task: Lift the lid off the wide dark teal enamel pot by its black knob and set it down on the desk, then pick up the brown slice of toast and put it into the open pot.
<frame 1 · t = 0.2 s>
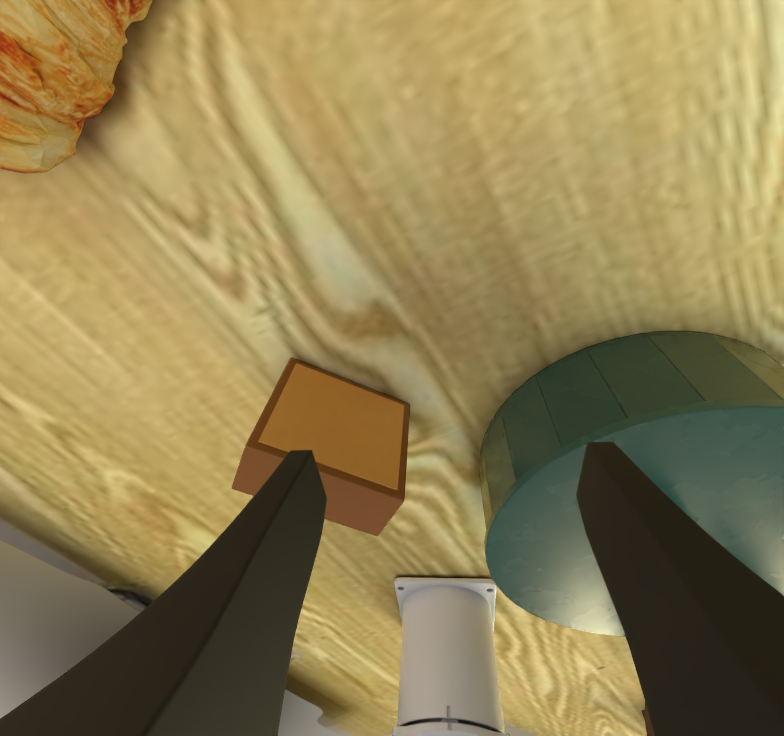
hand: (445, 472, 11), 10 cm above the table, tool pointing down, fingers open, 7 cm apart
pot: (626, 457, 24), on the table
lid: (671, 541, 19), point 5 cm above the table, touching pot
croissant: (1, 3, 14), on the table
toast: (342, 400, 23), on the table
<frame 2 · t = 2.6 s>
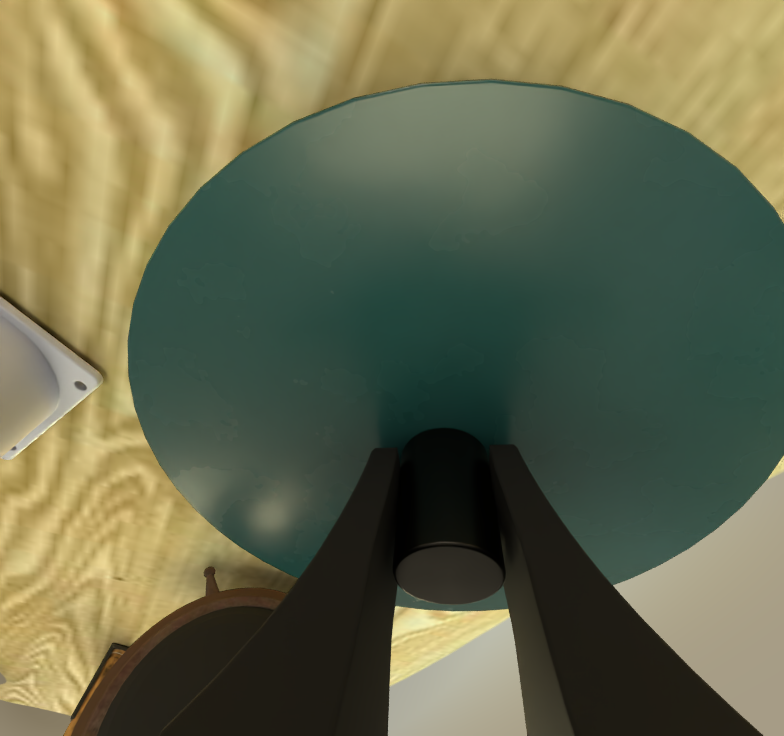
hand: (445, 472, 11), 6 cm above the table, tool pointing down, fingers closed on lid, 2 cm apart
alarm clock: (274, 586, 28), on the table
ammunition clip: (122, 664, 39), on the table
lid: (443, 445, 12), point 5 cm above the table, touching gripper, pot
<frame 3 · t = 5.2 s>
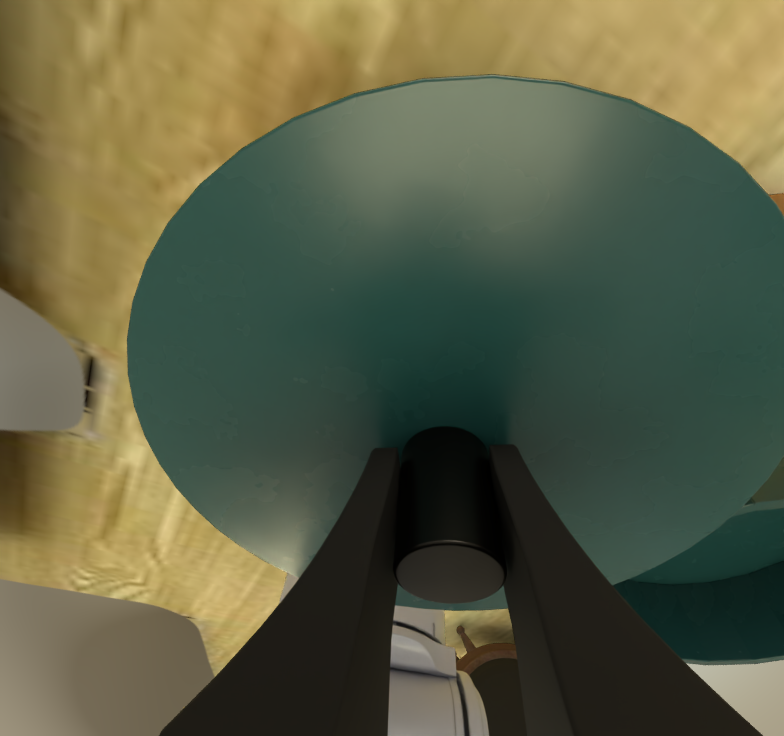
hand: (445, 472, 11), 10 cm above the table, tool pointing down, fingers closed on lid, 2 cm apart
pot: (699, 513, 27), on the table
alarm clock: (499, 638, 39), on the table
lid: (443, 444, 12), point 9 cm above the table, touching gripper
when the fingers open (2 cm above the table, at t = 7.9 s): lid stays where it is, point 1 cm above the table.
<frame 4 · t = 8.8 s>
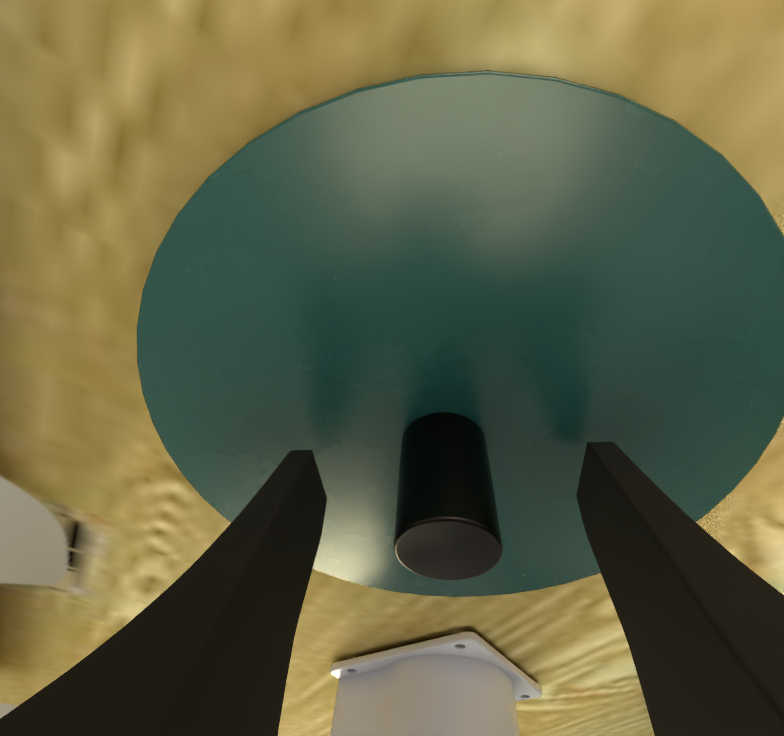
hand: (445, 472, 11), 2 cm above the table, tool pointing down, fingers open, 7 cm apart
lid: (442, 430, 12), point 1 cm above the table
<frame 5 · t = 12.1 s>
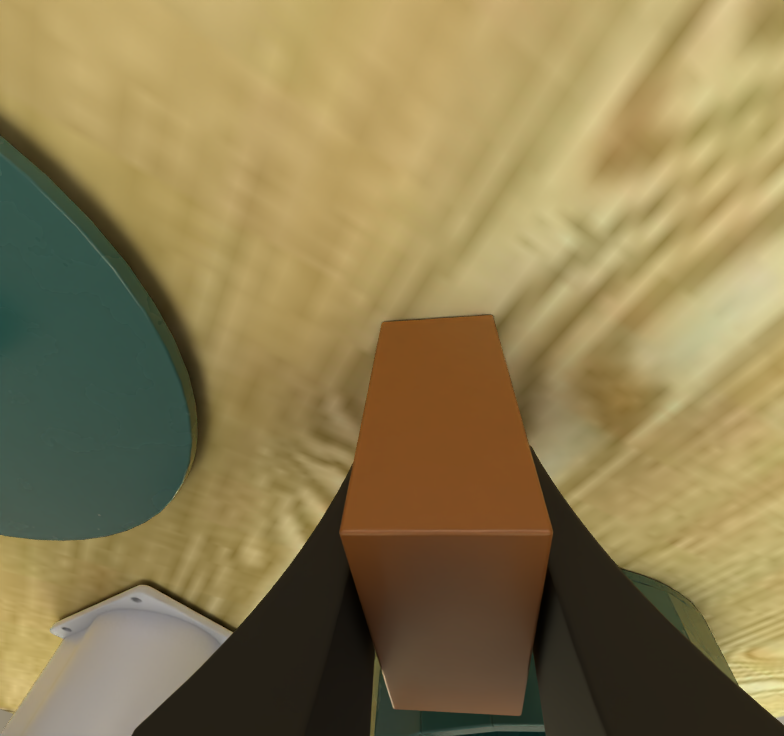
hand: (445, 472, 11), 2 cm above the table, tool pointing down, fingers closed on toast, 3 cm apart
pot: (526, 649, 22), on the table
toast: (442, 416, 13), on the table, touching gripper
when the fingers open (3 cm above the table, at t = 17.3 s): toast stays where it is, resting on pot.
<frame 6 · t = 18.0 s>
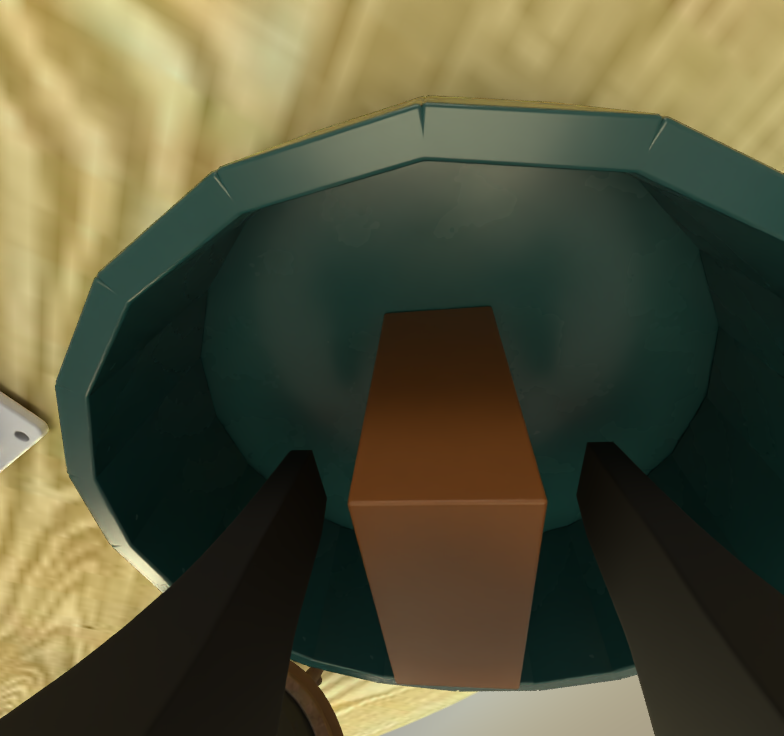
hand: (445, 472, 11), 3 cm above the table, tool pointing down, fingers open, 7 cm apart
pot: (442, 398, 14), on the table
alarm clock: (258, 637, 26), on the table
toast: (442, 405, 13), resting on pot
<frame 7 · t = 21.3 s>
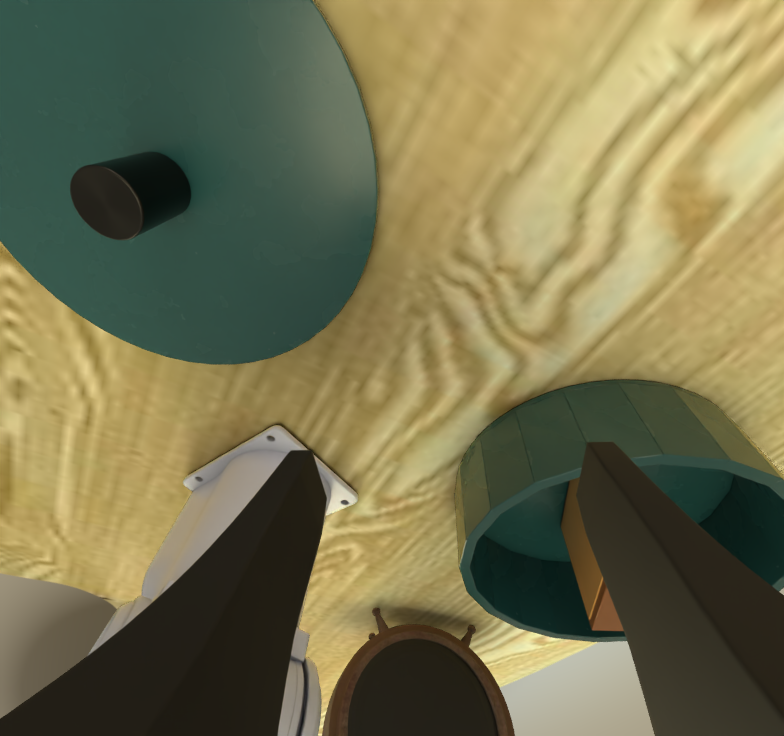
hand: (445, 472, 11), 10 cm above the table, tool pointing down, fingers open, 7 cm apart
pot: (589, 486, 26), on the table
alarm clock: (418, 620, 38), on the table
lid: (168, 182, 17), point 1 cm above the table
toast: (591, 491, 26), resting on pot
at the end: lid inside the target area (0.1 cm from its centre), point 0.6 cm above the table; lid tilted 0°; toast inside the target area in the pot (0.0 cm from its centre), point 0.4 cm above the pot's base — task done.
